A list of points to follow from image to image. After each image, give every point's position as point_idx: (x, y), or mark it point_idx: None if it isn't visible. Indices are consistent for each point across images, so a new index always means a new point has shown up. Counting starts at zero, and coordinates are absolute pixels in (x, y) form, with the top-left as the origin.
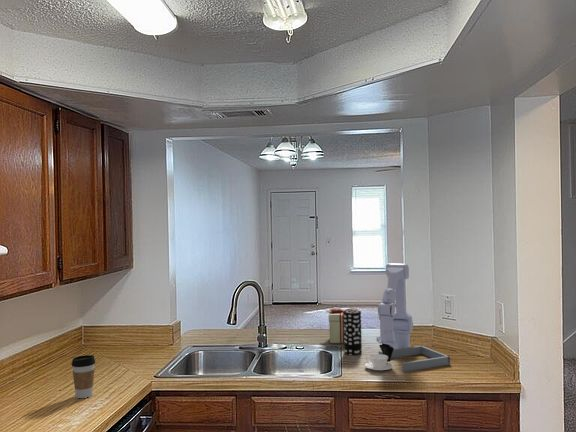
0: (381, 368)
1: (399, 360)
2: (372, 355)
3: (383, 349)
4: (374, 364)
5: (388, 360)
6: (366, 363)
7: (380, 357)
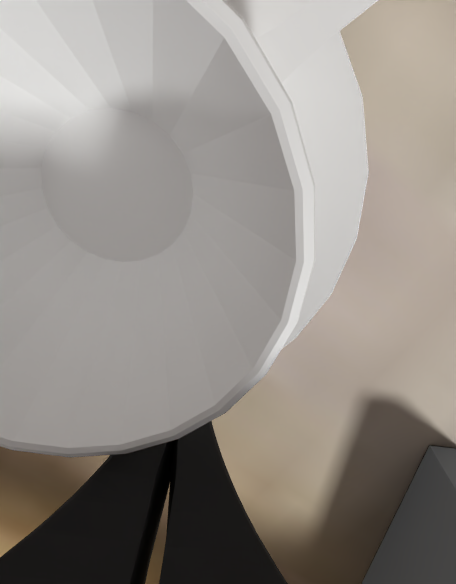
0: (17, 172)
1: None
2: (284, 215)
3: (100, 579)
4: (28, 40)
5: None
6: (349, 70)
7: (184, 354)
